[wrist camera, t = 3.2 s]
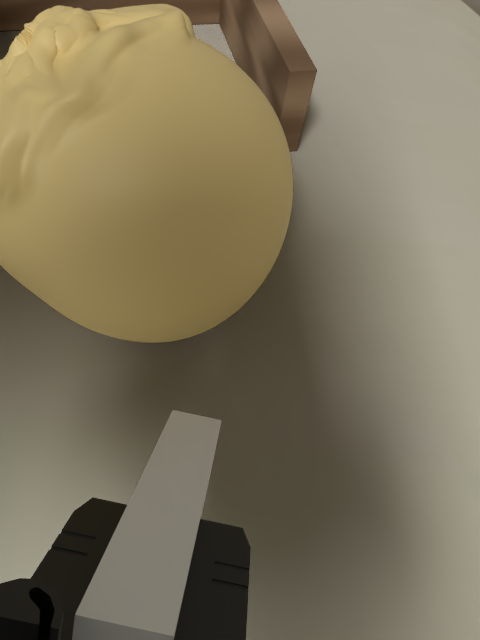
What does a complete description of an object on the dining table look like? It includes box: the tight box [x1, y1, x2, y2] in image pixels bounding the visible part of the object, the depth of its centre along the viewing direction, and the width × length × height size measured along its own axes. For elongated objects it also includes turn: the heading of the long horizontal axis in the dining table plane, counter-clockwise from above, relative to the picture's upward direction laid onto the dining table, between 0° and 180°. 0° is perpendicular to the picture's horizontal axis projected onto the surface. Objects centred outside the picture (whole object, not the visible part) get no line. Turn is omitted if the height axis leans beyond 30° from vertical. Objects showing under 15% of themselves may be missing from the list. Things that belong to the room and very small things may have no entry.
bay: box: [0, 0, 317, 151], centre depth 26 cm, size 16×20×5 cm
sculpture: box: [0, 4, 293, 343], centre depth 16 cm, size 11×12×11 cm
